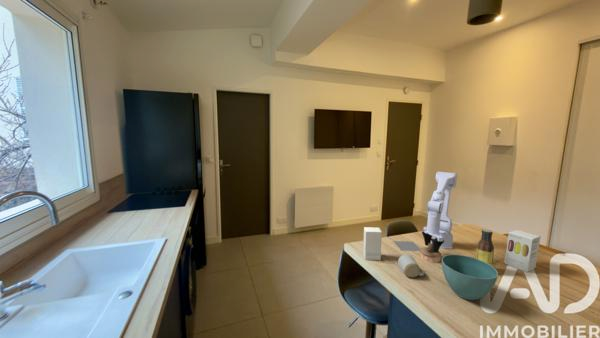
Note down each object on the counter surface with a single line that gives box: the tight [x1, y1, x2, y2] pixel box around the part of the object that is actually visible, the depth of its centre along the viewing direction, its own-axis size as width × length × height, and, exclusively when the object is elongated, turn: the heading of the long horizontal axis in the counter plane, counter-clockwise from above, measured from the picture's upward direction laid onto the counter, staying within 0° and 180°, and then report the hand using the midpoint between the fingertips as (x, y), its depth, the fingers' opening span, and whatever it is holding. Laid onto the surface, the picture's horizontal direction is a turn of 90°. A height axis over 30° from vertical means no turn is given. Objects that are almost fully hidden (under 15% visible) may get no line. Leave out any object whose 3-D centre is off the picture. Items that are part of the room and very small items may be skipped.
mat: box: [392, 240, 421, 252], centre depth 137 cm, size 12×12×1 cm
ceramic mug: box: [397, 253, 425, 278], centre depth 108 cm, size 11×8×8 cm
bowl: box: [420, 252, 442, 264], centre depth 123 cm, size 9×9×3 cm
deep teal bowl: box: [441, 254, 499, 301], centre depth 94 cm, size 18×18×12 cm
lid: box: [419, 243, 442, 258], centre depth 122 cm, size 10×10×5 cm
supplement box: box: [503, 229, 541, 273], centre depth 116 cm, size 10×9×17 cm
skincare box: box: [362, 226, 383, 261], centre depth 122 cm, size 8×7×16 cm
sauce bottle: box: [475, 228, 495, 267], centre depth 111 cm, size 6×6×20 cm
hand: (431, 248), depth 122 cm, fingers open, 7 cm apart
